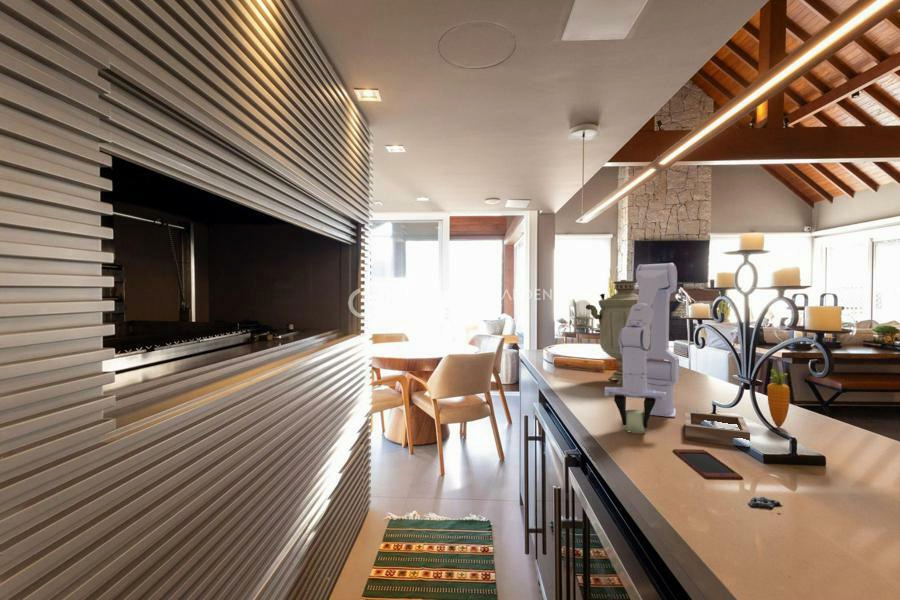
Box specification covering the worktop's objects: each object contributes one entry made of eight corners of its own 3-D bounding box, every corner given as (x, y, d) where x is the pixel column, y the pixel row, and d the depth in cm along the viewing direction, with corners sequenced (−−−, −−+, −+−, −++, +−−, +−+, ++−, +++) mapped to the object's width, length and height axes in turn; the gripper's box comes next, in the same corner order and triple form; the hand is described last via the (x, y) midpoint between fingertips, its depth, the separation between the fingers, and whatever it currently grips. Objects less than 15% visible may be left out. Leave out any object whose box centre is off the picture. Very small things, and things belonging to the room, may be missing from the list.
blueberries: (804, 518, 71) (804, 506, 71) (763, 520, 69) (763, 508, 69) (765, 499, 78) (766, 489, 78) (727, 501, 76) (728, 490, 76)
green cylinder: (626, 427, 116) (626, 408, 116) (644, 429, 114) (644, 410, 114) (624, 432, 113) (624, 413, 112) (643, 434, 110) (643, 415, 110)
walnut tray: (685, 424, 119) (685, 411, 119) (742, 430, 113) (742, 416, 112) (685, 439, 106) (685, 425, 106) (750, 447, 100) (750, 432, 100)
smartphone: (705, 476, 84) (671, 448, 99) (705, 481, 84) (671, 452, 99) (744, 476, 84) (704, 448, 99) (744, 481, 84) (704, 453, 99)
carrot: (794, 430, 112) (794, 372, 112) (772, 429, 113) (772, 371, 113) (784, 424, 117) (783, 368, 116) (763, 424, 118) (762, 368, 117)
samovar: (582, 387, 166) (581, 281, 165) (588, 374, 190) (588, 282, 190) (670, 393, 155) (669, 279, 154) (665, 379, 179) (664, 280, 178)
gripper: (602, 373, 113) (603, 426, 113) (665, 378, 106) (665, 433, 106) (606, 369, 119) (607, 419, 119) (666, 373, 112) (666, 425, 113)
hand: (634, 425), depth 113 cm, fingers closed on green cylinder, 4 cm apart
